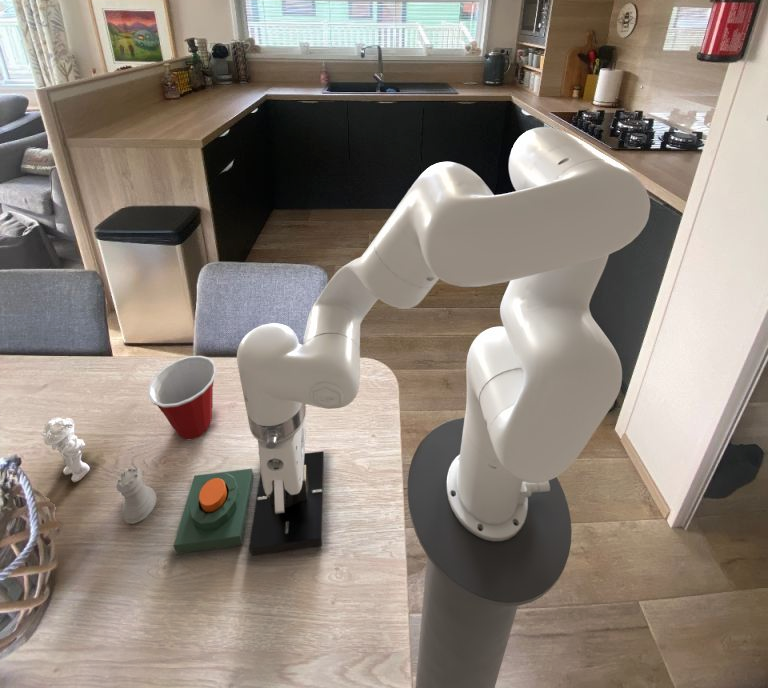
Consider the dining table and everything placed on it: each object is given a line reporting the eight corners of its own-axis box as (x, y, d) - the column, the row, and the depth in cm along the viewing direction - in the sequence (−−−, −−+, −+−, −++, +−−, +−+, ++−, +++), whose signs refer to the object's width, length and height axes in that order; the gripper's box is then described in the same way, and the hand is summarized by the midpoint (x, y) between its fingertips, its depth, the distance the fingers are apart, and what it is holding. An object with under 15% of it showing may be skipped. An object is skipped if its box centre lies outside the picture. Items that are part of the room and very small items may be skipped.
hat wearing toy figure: (104, 473, 64) (83, 424, 60) (77, 496, 61) (53, 447, 57) (76, 445, 69) (54, 398, 64) (50, 466, 65) (25, 418, 61)
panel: (324, 458, 67) (323, 450, 66) (322, 546, 56) (321, 537, 55) (264, 465, 66) (263, 457, 65) (250, 556, 55) (248, 548, 54)
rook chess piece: (118, 528, 58) (103, 495, 55) (131, 494, 62) (118, 462, 59) (150, 522, 58) (137, 490, 55) (161, 489, 62) (150, 457, 59)
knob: (308, 484, 61) (305, 463, 59) (307, 500, 59) (305, 479, 57) (272, 489, 61) (269, 468, 59) (270, 505, 59) (266, 484, 57)
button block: (253, 476, 64) (250, 461, 63) (242, 544, 56) (238, 529, 54) (196, 483, 63) (192, 468, 62) (176, 554, 55) (170, 538, 53)
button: (229, 483, 60) (227, 476, 59) (223, 510, 57) (221, 503, 56) (205, 486, 60) (203, 479, 59) (197, 514, 56) (195, 507, 56)
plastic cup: (228, 391, 78) (219, 346, 74) (223, 444, 69) (212, 396, 64) (169, 404, 76) (155, 359, 71) (155, 461, 66) (138, 413, 62)
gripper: (300, 469, 45) (311, 554, 53) (308, 357, 60) (316, 436, 67) (234, 477, 45) (254, 562, 52) (259, 362, 59) (271, 441, 66)
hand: (289, 490), depth 60 cm, fingers closed on knob, 2 cm apart
